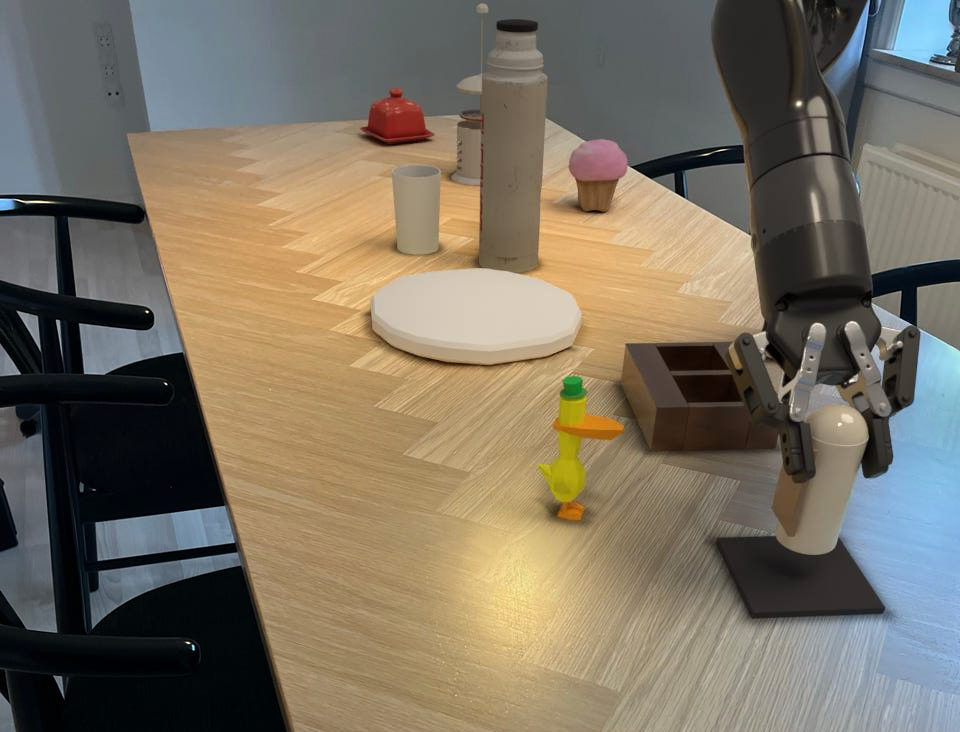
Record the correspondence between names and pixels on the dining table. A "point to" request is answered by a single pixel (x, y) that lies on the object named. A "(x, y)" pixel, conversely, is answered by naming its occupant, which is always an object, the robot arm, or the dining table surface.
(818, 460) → the dome-topped cream cylinder
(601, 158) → the cupcake
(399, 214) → the drinking glass
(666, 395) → the box
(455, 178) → the french press
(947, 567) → the dining table surface
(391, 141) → the butter dish
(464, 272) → the decorative plate
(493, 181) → the thermos bottle
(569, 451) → the toy figure
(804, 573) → the mat
